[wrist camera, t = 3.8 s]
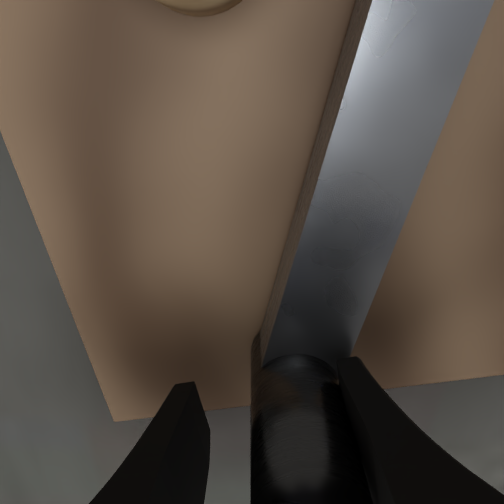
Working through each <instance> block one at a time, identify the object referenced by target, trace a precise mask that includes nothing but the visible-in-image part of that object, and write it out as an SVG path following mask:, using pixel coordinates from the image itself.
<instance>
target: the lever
mask: <svg viewBox="0 0 504 504" xmlns="http://www.w3.org/2000/svg"><path fill="white" fill-rule="evenodd" d="M493 3H494V0H356V3H355V6H354V9H353V13H352V16H351V20H350V23H349V27H348V30H347V34H346V37H345V41H344V44H343V47H342V51H341V54H340V58H339V61H338V65H337V68H336V72H335V75H334V79H333V82H332V85H331V89H330V92H329V96H328V99H327V103H326V106H325V110H324V113H323V117H322V120H321V123H320V127H319V130H318V134H317V137H316V141H315V144H314V148H313V151H312V155H311V158H310V161H309V165H308V168H307V172H306V175H305V179H304V182H303V186H302V189H301V193H300V196H299V199H298V203H297V206H296V210H295V213H294V217H293V220H292V224H291V227H290V231H289V234H288V237H287V241H286V244H285V248H284V251H283V255H282V258H281V262H280V265H279V269H278V272H277V275H276V279H275V282H274V286H273V289H272V293H271V296H270V300H269V303H268V307H267V310H266V313H265V317H264V320H263V324H262V327H261V330H260V331H259V332H258V334H257V335H256V336H255V338H254V340H253V342H252V345H251V504H373V501H372V497H371V494H370V490H369V486H368V483H367V479H366V475H365V472H364V468H363V465H362V461H361V457H360V454H359V450H358V446H357V443H356V439H355V436H354V433H353V429H352V426H351V423H350V420H349V417H348V414H347V411H346V408H345V404H344V400H343V397H342V393H341V389H340V386H339V380H338V372H337V365H336V359H341V358H347V357H350V355H351V353H352V350H353V348H354V345H355V343H356V340H357V338H358V335H359V333H360V330H361V328H362V326H363V323H364V321H365V318H366V316H367V313H368V311H369V308H370V306H371V303H372V301H373V298H374V296H375V293H376V291H377V289H378V286H379V284H380V281H381V279H382V276H383V274H384V271H385V269H386V266H387V264H388V261H389V259H390V257H391V254H392V252H393V249H394V247H395V244H396V242H397V239H398V237H399V234H400V232H401V229H402V227H403V224H404V222H405V220H406V217H407V215H408V212H409V210H410V207H411V205H412V202H413V200H414V197H415V195H416V192H417V190H418V188H419V185H420V183H421V180H422V178H423V175H424V173H425V170H426V168H427V165H428V163H429V160H430V158H431V155H432V153H433V151H434V148H435V146H436V143H437V141H438V138H439V136H440V133H441V131H442V128H443V126H444V123H445V121H446V118H447V116H448V114H449V111H450V109H451V106H452V104H453V101H454V99H455V96H456V94H457V91H458V89H459V86H460V84H461V82H462V79H463V77H464V74H465V72H466V69H467V67H468V64H469V62H470V59H471V57H472V54H473V52H474V49H475V47H476V45H477V42H478V40H479V37H480V35H481V32H482V30H483V27H484V25H485V22H486V20H487V17H488V15H489V13H490V10H491V8H492V5H493Z"/></svg>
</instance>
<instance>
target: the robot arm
mask: <svg viewBox="0 0 504 504" xmlns="http://www.w3.org/2000/svg"><path fill="white" fill-rule="evenodd" d="M336 365H337V372H338V380H339V386H340V389H341V393H342V397H343V400H344V404H345V408H346V411H347V414H348V417H349V420H350V423H351V426H352V429H353V433H354V436H355V439H356V443H357V446H358V450H359V454H360V457H361V461H362V465H363V468H364V472H365V475H366V479H367V483H368V486H369V490H370V494H371V497H372V501H373V504H504V495H503V494H502V493H500V492H499V491H498V490H496V489H495V488H493V487H492V486H491V485H489V484H488V483H486V482H485V481H484V480H482V479H481V478H479V477H478V476H477V475H475V474H474V473H472V472H471V471H470V470H468V469H467V468H466V467H464V466H463V465H462V464H461V463H459V462H458V461H457V460H456V459H454V458H453V457H452V456H451V455H449V454H448V453H447V452H446V451H445V450H443V449H442V448H441V447H440V446H439V445H438V444H436V443H435V442H434V441H433V440H432V439H431V438H430V437H429V436H427V435H426V434H425V433H424V432H423V431H422V430H421V429H420V428H419V427H418V426H417V425H416V424H415V423H414V422H413V421H412V420H411V419H410V418H409V417H408V416H407V415H406V414H405V413H404V412H403V411H402V410H401V409H400V408H399V407H398V406H397V404H396V403H395V402H394V401H393V400H392V399H391V398H390V397H389V396H388V394H387V393H386V392H385V391H384V390H383V389H382V387H381V386H380V385H379V384H378V382H377V381H376V380H375V379H374V377H373V376H372V375H371V373H370V372H369V371H368V369H367V368H366V367H365V365H364V364H363V362H362V360H361V359H360V358H359V357H357V356H354V357H347V358H341V359H336ZM209 460H210V428H209V425H208V422H207V419H206V416H205V412H204V409H203V406H202V403H201V400H200V397H199V394H198V390H197V387H196V384H195V381H192V382H186V383H179V384H175V385H174V386H173V388H172V389H171V391H170V392H169V394H168V396H167V397H166V399H165V400H164V402H163V404H162V405H161V407H160V408H159V410H158V412H157V413H156V415H155V416H154V418H153V420H152V421H151V423H150V424H149V426H148V427H147V429H146V430H145V432H144V433H143V435H142V436H141V438H140V439H139V441H138V442H137V444H136V445H135V446H134V448H133V449H132V450H131V452H130V453H129V455H128V456H127V457H126V459H125V460H124V461H123V463H122V464H121V465H120V467H119V468H118V469H117V471H116V472H115V473H114V475H113V476H112V477H111V478H110V480H109V481H108V482H107V483H106V484H105V486H104V487H103V488H102V489H101V490H100V492H99V493H98V494H97V495H96V496H95V497H94V499H93V500H92V501H91V502H90V503H89V504H204V499H205V492H206V485H207V478H208V471H209Z"/></svg>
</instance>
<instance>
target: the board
mask: <svg viewBox="0 0 504 504" xmlns="http://www.w3.org/2000/svg"><path fill="white" fill-rule="evenodd" d="M355 3H356V0H242V1H241V2H240V3H239V4H237V5H236V6H234V7H233V8H231V9H230V10H227V11H225V12H223V13H220V14H217V15H213V16H205V17H196V16H189V15H184V14H181V13H178V12H175V11H173V10H171V9H169V8H167V7H165V6H164V5H162V4H160V3H159V2H157V1H155V0H0V131H1V134H2V136H3V139H4V141H5V144H6V146H7V149H8V151H9V154H10V157H11V159H12V162H13V164H14V167H15V169H16V172H17V174H18V177H19V180H20V182H21V185H22V187H23V190H24V192H25V195H26V198H27V200H28V203H29V205H30V208H31V210H32V213H33V215H34V218H35V221H36V223H37V226H38V228H39V231H40V233H41V236H42V238H43V241H44V244H45V246H46V249H47V251H48V254H49V256H50V259H51V262H52V264H53V267H54V269H55V272H56V274H57V277H58V279H59V282H60V285H61V287H62V290H63V292H64V295H65V297H66V300H67V303H68V305H69V308H70V310H71V313H72V315H73V318H74V320H75V323H76V326H77V328H78V331H79V333H80V336H81V338H82V341H83V343H84V346H85V349H86V351H87V354H88V356H89V359H90V361H91V364H92V367H93V369H94V372H95V374H96V377H97V379H98V382H99V384H100V387H101V390H102V392H103V395H104V397H105V400H106V402H107V405H108V407H109V410H110V413H111V415H112V418H113V420H114V422H117V421H125V420H134V419H142V418H150V417H154V416H155V415H156V413H157V412H158V410H159V408H160V407H161V405H162V404H163V402H164V400H165V399H166V397H167V396H168V394H169V392H170V391H171V389H172V388H173V386H174V385H175V384H179V383H186V382H192V381H195V384H196V387H197V390H198V394H199V397H200V400H201V403H202V406H203V409H204V411H208V410H216V409H224V408H233V407H241V406H249V405H251V345H252V342H253V340H254V338H255V336H256V335H257V334H258V332H259V331H260V330H261V327H262V324H263V320H264V317H265V313H266V310H267V307H268V303H269V300H270V296H271V293H272V289H273V286H274V282H275V279H276V275H277V272H278V269H279V265H280V262H281V258H282V255H283V251H284V248H285V244H286V241H287V237H288V234H289V231H290V227H291V224H292V220H293V217H294V213H295V210H296V206H297V203H298V199H299V196H300V193H301V189H302V186H303V182H304V179H305V175H306V172H307V168H308V165H309V161H310V158H311V155H312V151H313V148H314V144H315V141H316V137H317V134H318V130H319V127H320V123H321V120H322V117H323V113H324V110H325V106H326V103H327V99H328V96H329V92H330V89H331V85H332V82H333V79H334V75H335V72H336V68H337V65H338V61H339V58H340V54H341V51H342V47H343V44H344V41H345V37H346V34H347V30H348V27H349V23H350V20H351V16H352V13H353V9H354V6H355ZM354 356H357V357H359V358H360V359H361V360H362V362H363V364H364V365H365V367H366V368H367V369H368V371H369V372H370V373H371V375H372V376H373V377H374V379H375V380H376V381H377V382H378V384H379V385H380V386H381V387H382V389H389V388H397V387H406V386H414V385H422V384H430V383H439V382H447V381H455V380H463V379H472V378H480V377H488V376H496V375H504V0H494V3H493V5H492V8H491V10H490V13H489V15H488V17H487V20H486V22H485V25H484V27H483V30H482V32H481V35H480V37H479V40H478V42H477V45H476V47H475V49H474V52H473V54H472V57H471V59H470V62H469V64H468V67H467V69H466V72H465V74H464V77H463V79H462V82H461V84H460V86H459V89H458V91H457V94H456V96H455V99H454V101H453V104H452V106H451V109H450V111H449V114H448V116H447V118H446V121H445V123H444V126H443V128H442V131H441V133H440V136H439V138H438V141H437V143H436V146H435V148H434V151H433V153H432V155H431V158H430V160H429V163H428V165H427V168H426V170H425V173H424V175H423V178H422V180H421V183H420V185H419V188H418V190H417V192H416V195H415V197H414V200H413V202H412V205H411V207H410V210H409V212H408V215H407V217H406V220H405V222H404V224H403V227H402V229H401V232H400V234H399V237H398V239H397V242H396V244H395V247H394V249H393V252H392V254H391V257H390V259H389V261H388V264H387V266H386V269H385V271H384V274H383V276H382V279H381V281H380V284H379V286H378V289H377V291H376V293H375V296H374V298H373V301H372V303H371V306H370V308H369V311H368V313H367V316H366V318H365V321H364V323H363V326H362V328H361V330H360V333H359V335H358V338H357V340H356V343H355V345H354V348H353V350H352V353H351V355H350V357H354Z"/></svg>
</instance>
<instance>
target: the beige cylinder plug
mask: <svg viewBox="0 0 504 504" xmlns="http://www.w3.org/2000/svg"><path fill="white" fill-rule="evenodd" d="M155 1H157V2H159V3H160V4H162V5H164V6H165V7H167V8H169V9H171V10H173V11H175V12H178V13H181V14H184V15H189V16H196V17H205V16H213V15H217V14H220V13H223V12H225V11H227V10H230V9H231V8H233V7H234V6H236V5H237V4H239V3H240V2H241V1H242V0H155Z"/></svg>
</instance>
